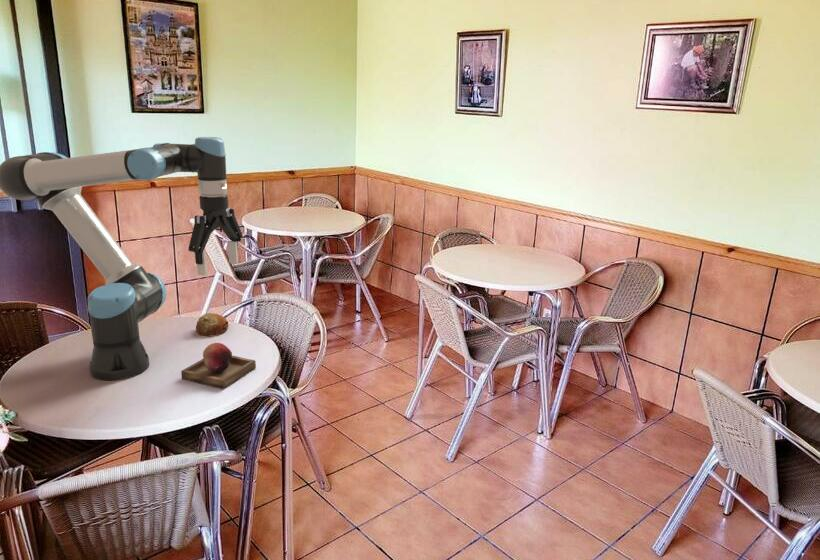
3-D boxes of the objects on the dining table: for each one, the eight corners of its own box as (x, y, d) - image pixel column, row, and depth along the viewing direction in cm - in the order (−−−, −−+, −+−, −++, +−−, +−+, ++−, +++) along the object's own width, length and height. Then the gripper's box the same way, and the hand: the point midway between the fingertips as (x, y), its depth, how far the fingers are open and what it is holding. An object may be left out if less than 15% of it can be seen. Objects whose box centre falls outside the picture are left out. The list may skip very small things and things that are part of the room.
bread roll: (203, 336, 202) (190, 317, 198) (231, 321, 203) (218, 302, 200) (202, 347, 193) (189, 327, 189) (231, 332, 194) (219, 312, 191)
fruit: (216, 363, 171) (214, 337, 169) (238, 368, 169) (237, 341, 166) (197, 373, 165) (195, 346, 162) (220, 379, 162) (218, 352, 159)
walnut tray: (181, 379, 163) (181, 370, 163) (215, 359, 176) (215, 351, 175) (224, 389, 158) (223, 380, 158) (255, 368, 171) (255, 360, 170)
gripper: (192, 202, 153) (199, 282, 159) (252, 189, 175) (255, 260, 181) (169, 200, 155) (177, 278, 162) (231, 187, 178) (235, 257, 184)
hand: (218, 268), depth 172 cm, fingers open, 13 cm apart
